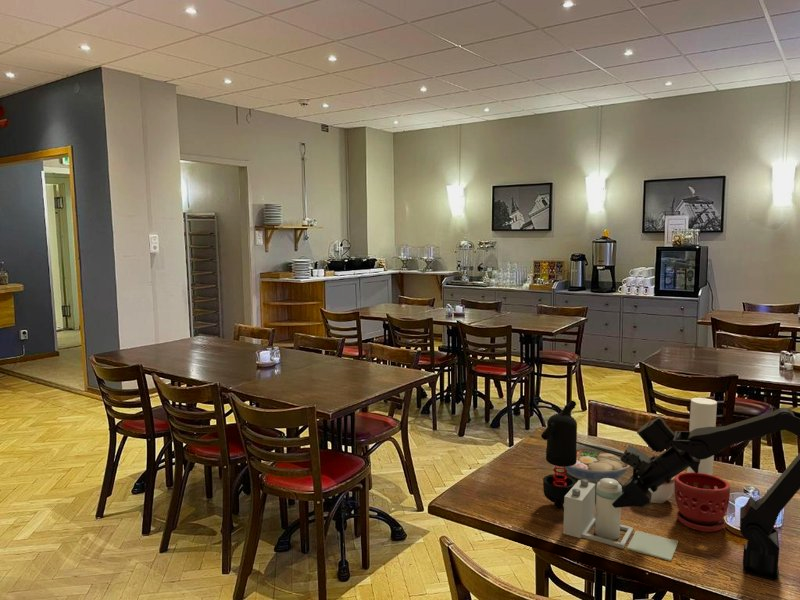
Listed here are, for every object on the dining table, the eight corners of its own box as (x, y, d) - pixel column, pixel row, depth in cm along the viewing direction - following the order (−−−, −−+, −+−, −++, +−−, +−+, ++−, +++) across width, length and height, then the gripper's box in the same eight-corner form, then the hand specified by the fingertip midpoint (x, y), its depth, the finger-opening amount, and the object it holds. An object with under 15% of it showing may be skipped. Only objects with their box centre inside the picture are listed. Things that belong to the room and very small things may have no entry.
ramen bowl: (537, 477, 191) (537, 452, 190) (577, 458, 206) (578, 435, 205) (610, 503, 172) (611, 476, 171) (648, 481, 188) (649, 455, 187)
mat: (678, 542, 151) (678, 541, 151) (671, 561, 143) (671, 559, 143) (636, 531, 156) (636, 530, 156) (626, 549, 148) (626, 547, 148)
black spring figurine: (558, 495, 178) (560, 396, 174) (584, 506, 171) (587, 403, 167) (527, 508, 170) (529, 404, 166) (553, 520, 163) (556, 412, 159)
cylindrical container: (717, 481, 187) (722, 402, 184) (700, 485, 184) (704, 405, 181) (698, 472, 193) (702, 396, 190) (681, 476, 191) (685, 399, 188)
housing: (634, 529, 158) (635, 488, 156) (622, 550, 148) (624, 506, 146) (577, 514, 166) (578, 475, 164) (563, 533, 156) (564, 491, 155)
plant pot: (738, 527, 159) (741, 483, 157) (707, 540, 152) (709, 495, 151) (692, 507, 170) (695, 466, 168) (661, 518, 163) (664, 476, 162)
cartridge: (622, 531, 157) (624, 480, 155) (616, 542, 151) (618, 488, 150) (598, 525, 160) (600, 474, 158) (591, 535, 155) (593, 483, 153)
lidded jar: (628, 498, 176) (629, 467, 174) (644, 487, 183) (645, 457, 182) (665, 510, 168) (667, 478, 167) (680, 498, 175) (682, 467, 174)
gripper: (648, 427, 157) (603, 460, 164) (636, 451, 141) (586, 485, 148) (680, 463, 154) (632, 494, 161) (671, 490, 138) (618, 524, 145)
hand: (617, 498), depth 153 cm, fingers open, 9 cm apart
